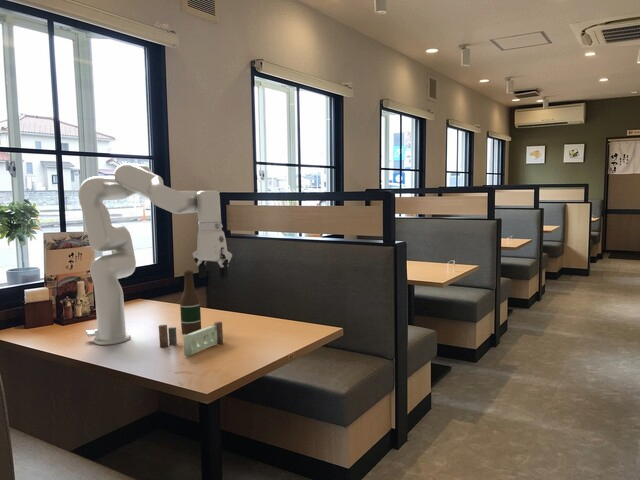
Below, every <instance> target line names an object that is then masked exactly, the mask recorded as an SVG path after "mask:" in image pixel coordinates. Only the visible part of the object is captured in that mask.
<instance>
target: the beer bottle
mask: <svg viewBox="0 0 640 480" xmlns="http://www.w3.org/2000/svg"><path fill="white" fill-rule="evenodd" d="M193 274H194V271H193V270H192V269H186V270H184V271H183V275H184V277H183V278H184V279H183V281H184V282H183V285H184V288H183V292H182V295H181V297H180V301H179V304H180V305H179V307H180V310H179V311H180V325H181V326H180V327H181V334H182V335H187V334H189V333H192V332H195V331H198V330H200V329H202V317H201V316H202V315H201V300H200V296H199V294H198V292H196V290H195V283H194V276H193Z"/></svg>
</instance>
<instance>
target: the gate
mask: <svg viewBox="0 0 640 480" xmlns="http://www.w3.org/2000/svg"><path fill="white" fill-rule="evenodd" d="M182 337H183V338H182V339H183V353H184V354H183V356H185V357H191V356H192V355H193V354H195V353H198V352H200V351H203V350H205V349H207V348H210V347H212V346H216V345H217V344H218V343H217V326H215V325H214V324H212V325H209V326H206V327H204V328H201V329H200V330H198V331H195V332H192V333H189V334H187V335H186V334H183V335H182Z"/></svg>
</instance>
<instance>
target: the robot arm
mask: <svg viewBox="0 0 640 480" xmlns="http://www.w3.org/2000/svg"><path fill="white" fill-rule="evenodd" d="M135 194H139V195H140V196H143V197H146V198H147V199H148V200H149V201H150V203H152V204H153V205H154V206H156V207H158V208H161V209H163V210H165V211H168V212H170V213H172V214H178V215H181V214H193V213H197V222H198V233H197V241H196V245H197V247H196V250H195V251H194V252H192V256H193V259H194V262H195V263H196V266H197V268H198V269H197V270H198V278H200V279H201V278H205V277H207V276H208V271H207V269H208V268H207V265H206V263H207V262H215V263H216V262H217V263H218V265H219V269H218V270H219V271H218V272H219V279H220V280H226V279H228V278H229V275H228V267H229V265H230V263H231V259H232V258H233V254H232V252H230V251H228V246H227V239H226V236H225V232H224V230H223V229H222V228H223V227H224V226H223V224H222V216H221V215H222V213H221V197H220V193H219V191H218V190H212V189H211V190H199V191H198V190H177V189H173V188H171V187H169V186H166V185H164V180H163V178H162V177H161V175H158V174H156V173H153V171H152V169H151V168H150V167H148V166H147V165H145V164H140V163H122V164H120V165H118V166H117V167H116V168H115V170H114V172H113V176H103V175H102V176H101V175H100V176H99V175H98V176H97V175H96V176H92V177H88V178H86V179H85V180H84V181H83V182H82V183H81V184H80V186H79V190H78V201H79V204H80V205H79V206H80V208H81V211H82V213H83V218H84V223H85V229H86V232H87V238H88V242H89V245H90V249H91V250H92V251H94V252H98V253H101V252H102V253H104V252H110V251H111V253H110V254H104V255H101V256H100V255H99V256H98V257H96V258H94V259H93V260H92V261H91V263H90V266H89V272H90V276H91V280H92V284H93V289H94V290H93V291H94V299H95V311H96V312H95V313H96V314H95V315H96V324H97V325H96V326H97V328H96V329H94V330H93V329H91V330H89V329H87V330H86V332H85V333H86V334H85V335H86V336H87V337H89V338H90V337H94V338H93V343H94V344H95V345H101V346H106V345H107V346H108V345H115V344H120V343H124V342H126V341H129V340H130V339H131V333H129V332H127V331H126V329H127V328H126V318H125V317H126V316H125V315H126V314H125V304H124V303H125V301H124V300H125V299H124V292H123V290H124V289H123V287H122V285H121V284H120V281H119V279H123V278H128V277H129V276H131V275H133V273H134V272H135V270H136V267H137V261H136V256H135V251H134V245H133V239H132V236H131V232H130V231H129V230H128V228H127V227H125V226H124V225H122V224H118V223H116V224H113V223H112V220H111V214H110V211H109V209H108V207H107V206H106V205H105V204H104V203H103V201H112V200H113V201H115V200H116V201H117V200H118V201H119V200H124V199H127V198H129V197H131V196H133V195H135Z"/></svg>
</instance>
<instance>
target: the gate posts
mask: <svg viewBox="0 0 640 480" xmlns="http://www.w3.org/2000/svg"><path fill="white" fill-rule="evenodd" d="M213 325H215V326H217V343H218V344H216V345H223V344H224V334H223V333H224V332H223V321H215V322H213ZM158 335H159V336H158V337H159V348H160V349H165V348H168V347H169V346H176V345H177V344H178V341H177V339H178V337H177V327H176V326H175V327H173V326H172V327H168V325H167V324H159V325H158Z"/></svg>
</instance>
